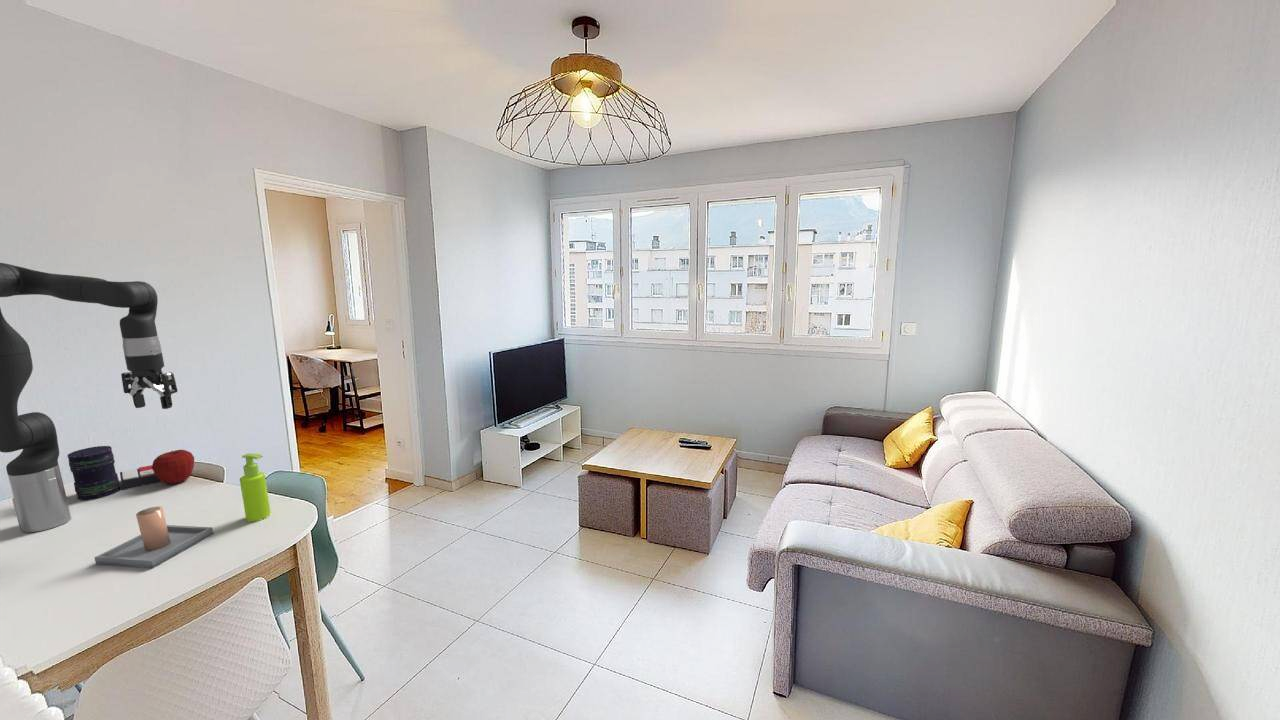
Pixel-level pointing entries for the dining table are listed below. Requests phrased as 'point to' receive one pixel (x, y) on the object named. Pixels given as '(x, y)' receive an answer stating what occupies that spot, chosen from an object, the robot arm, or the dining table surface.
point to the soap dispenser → (254, 490)
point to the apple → (174, 466)
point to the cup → (153, 528)
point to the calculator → (138, 477)
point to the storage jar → (94, 472)
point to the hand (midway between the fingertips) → (154, 407)
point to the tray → (137, 556)
